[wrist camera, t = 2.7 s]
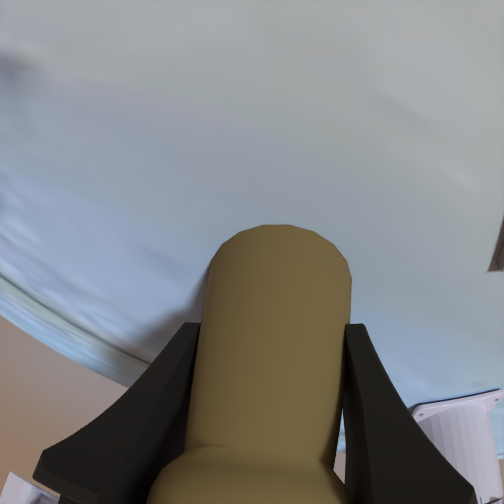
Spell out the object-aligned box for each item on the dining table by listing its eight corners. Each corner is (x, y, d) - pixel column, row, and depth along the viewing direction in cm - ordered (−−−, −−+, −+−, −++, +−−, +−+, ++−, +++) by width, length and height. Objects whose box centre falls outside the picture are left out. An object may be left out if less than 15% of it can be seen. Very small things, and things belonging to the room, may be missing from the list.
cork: (209, 324, 15) (146, 549, 6) (207, 214, 12) (70, 541, 3) (332, 340, 15) (327, 572, 6) (368, 236, 11) (418, 578, 2)
